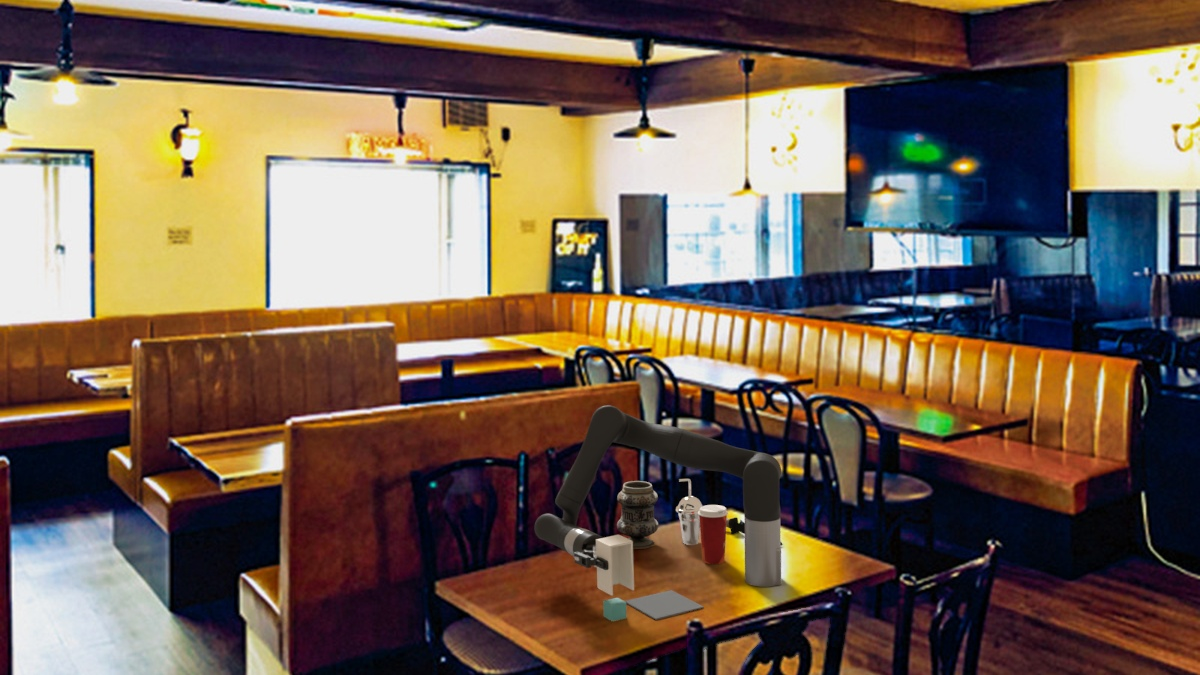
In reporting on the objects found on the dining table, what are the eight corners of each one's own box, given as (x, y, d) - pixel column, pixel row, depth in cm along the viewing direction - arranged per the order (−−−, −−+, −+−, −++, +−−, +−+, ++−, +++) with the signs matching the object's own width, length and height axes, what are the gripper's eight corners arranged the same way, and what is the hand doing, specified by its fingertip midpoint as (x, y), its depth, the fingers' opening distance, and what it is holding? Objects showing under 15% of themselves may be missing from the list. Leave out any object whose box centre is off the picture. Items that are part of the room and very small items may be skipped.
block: (603, 616, 260) (603, 600, 259) (617, 613, 262) (617, 597, 261) (612, 622, 256) (611, 605, 256) (626, 618, 258) (626, 602, 258)
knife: (703, 521, 333) (704, 507, 332) (710, 519, 334) (711, 505, 333) (775, 555, 309) (776, 540, 308) (782, 553, 310) (784, 538, 310)
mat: (671, 591, 276) (671, 590, 276) (703, 608, 264) (703, 606, 264) (624, 602, 269) (624, 600, 269) (655, 620, 257) (655, 618, 257)
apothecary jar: (664, 548, 311) (663, 487, 309) (624, 552, 308) (623, 491, 306) (650, 536, 323) (649, 477, 321) (612, 540, 319) (611, 481, 317)
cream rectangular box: (597, 587, 259) (595, 539, 258) (620, 582, 262) (618, 534, 261) (611, 595, 254) (609, 546, 252) (634, 589, 257) (632, 541, 256)
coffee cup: (734, 561, 298) (734, 508, 296) (711, 567, 293) (711, 514, 291) (714, 554, 305) (714, 502, 303) (692, 560, 300) (691, 507, 298)
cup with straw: (710, 545, 313) (709, 477, 311) (681, 549, 310) (680, 480, 308) (697, 537, 321) (696, 471, 319) (669, 540, 318) (668, 474, 316)
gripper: (559, 536, 266) (593, 553, 251) (609, 525, 273) (645, 542, 258) (560, 565, 266) (594, 584, 252) (610, 554, 274) (646, 572, 259)
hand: (619, 562), depth 255 cm, fingers closed on cream rectangular box, 6 cm apart
